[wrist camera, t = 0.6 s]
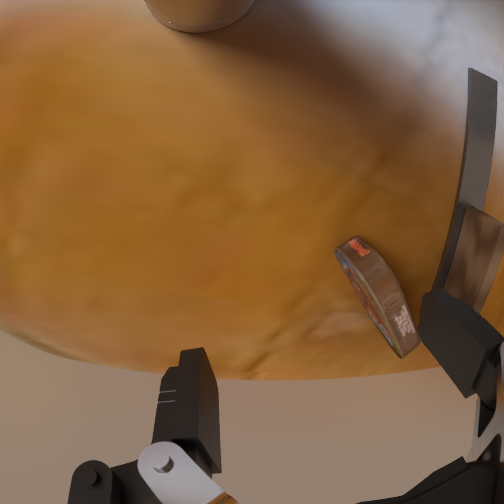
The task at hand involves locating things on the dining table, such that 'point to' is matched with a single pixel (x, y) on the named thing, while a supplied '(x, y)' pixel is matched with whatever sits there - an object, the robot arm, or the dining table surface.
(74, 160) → the dining table surface
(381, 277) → the tin
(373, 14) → the dining table surface
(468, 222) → the brown wooden block
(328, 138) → the dining table surface
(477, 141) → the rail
